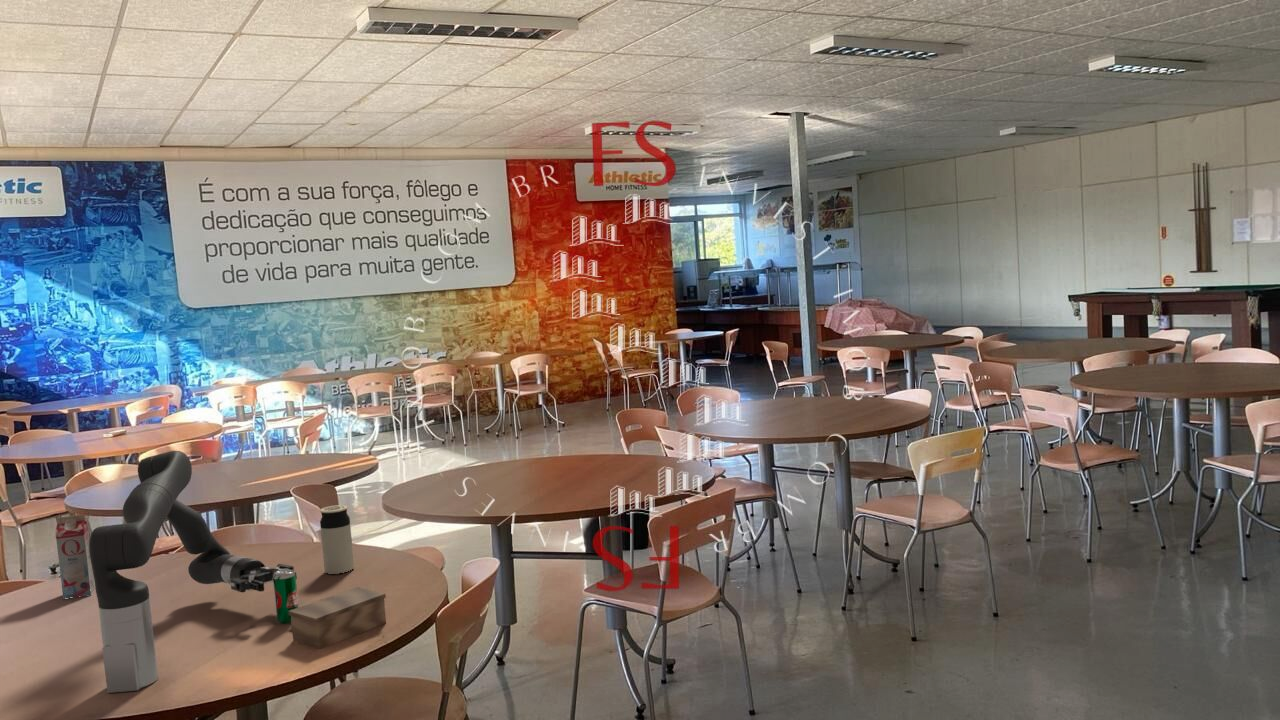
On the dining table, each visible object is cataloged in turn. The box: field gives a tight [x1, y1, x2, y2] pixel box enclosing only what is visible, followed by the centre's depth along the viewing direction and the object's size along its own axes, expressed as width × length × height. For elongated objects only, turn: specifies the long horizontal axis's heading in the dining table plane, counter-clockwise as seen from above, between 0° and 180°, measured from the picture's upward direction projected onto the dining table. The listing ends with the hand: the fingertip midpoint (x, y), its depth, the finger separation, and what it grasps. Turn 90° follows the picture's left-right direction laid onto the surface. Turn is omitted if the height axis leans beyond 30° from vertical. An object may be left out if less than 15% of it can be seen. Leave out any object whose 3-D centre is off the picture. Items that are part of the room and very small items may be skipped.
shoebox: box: [288, 586, 387, 650], centre depth 221 cm, size 19×11×7 cm, turn 142°
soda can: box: [272, 569, 300, 625], centre depth 231 cm, size 5×5×12 cm
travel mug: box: [319, 504, 355, 575], centre depth 271 cm, size 8×8×18 cm
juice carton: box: [55, 514, 96, 599], centre depth 264 cm, size 7×7×22 cm
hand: (279, 581), depth 233 cm, fingers open, 8 cm apart
